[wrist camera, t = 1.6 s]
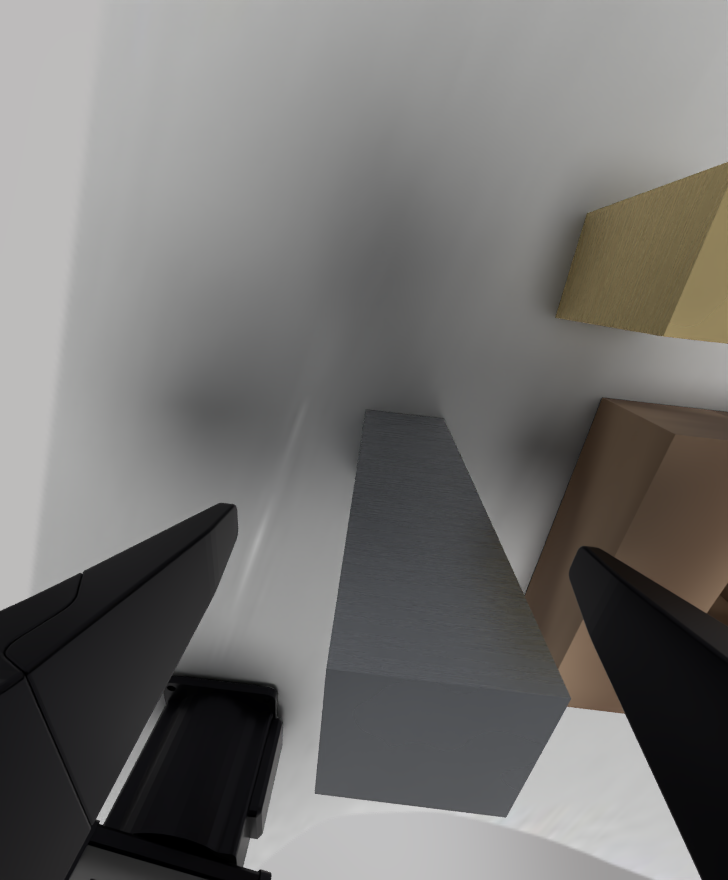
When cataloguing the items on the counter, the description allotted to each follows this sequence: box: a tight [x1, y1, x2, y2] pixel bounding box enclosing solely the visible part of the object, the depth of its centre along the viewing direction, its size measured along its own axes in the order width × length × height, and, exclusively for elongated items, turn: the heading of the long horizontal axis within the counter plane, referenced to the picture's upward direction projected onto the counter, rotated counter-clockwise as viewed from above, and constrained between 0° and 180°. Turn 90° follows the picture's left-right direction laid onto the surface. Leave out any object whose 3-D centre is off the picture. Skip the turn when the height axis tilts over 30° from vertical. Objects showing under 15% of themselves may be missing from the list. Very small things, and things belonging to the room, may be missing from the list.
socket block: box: [525, 398, 728, 714], centre depth 14 cm, size 12×12×4 cm
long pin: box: [315, 410, 571, 817], centre depth 9 cm, size 3×3×10 cm
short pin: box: [555, 162, 728, 344], centre depth 9 cm, size 3×3×5 cm
